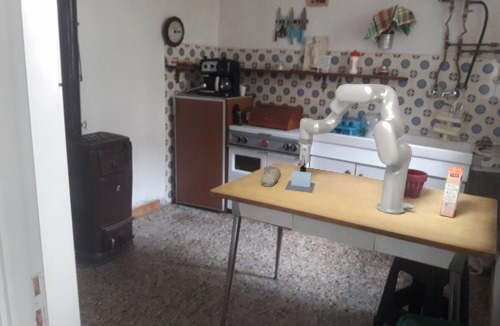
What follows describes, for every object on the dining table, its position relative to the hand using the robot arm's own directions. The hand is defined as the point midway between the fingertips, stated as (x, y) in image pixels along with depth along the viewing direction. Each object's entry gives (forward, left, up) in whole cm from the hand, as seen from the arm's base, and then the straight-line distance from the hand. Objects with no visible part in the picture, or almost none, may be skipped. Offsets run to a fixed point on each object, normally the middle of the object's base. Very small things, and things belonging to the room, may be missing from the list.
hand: (302, 174), depth 213 cm
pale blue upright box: (0, +6, -5) cm, 8 cm away
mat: (0, +8, -5) cm, 10 cm away
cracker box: (-70, +21, -5) cm, 73 cm away
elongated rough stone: (+18, -2, -6) cm, 19 cm away
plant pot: (-56, 0, -5) cm, 56 cm away
